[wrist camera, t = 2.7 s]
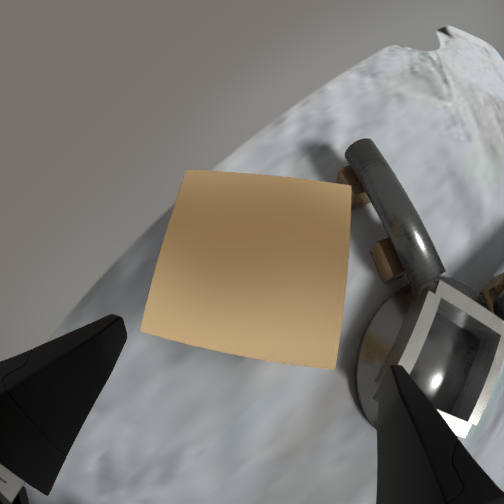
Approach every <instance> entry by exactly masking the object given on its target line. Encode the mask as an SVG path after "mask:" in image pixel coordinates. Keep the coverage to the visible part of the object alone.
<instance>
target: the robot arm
mask: <svg viewBox="0 0 504 504" xmlns="http://www.w3.org/2000/svg"><path fill="white" fill-rule="evenodd" d="M126 340H127V331H126V328H125V324H124V321H123V318H122V317H121V316H117V315H114V314H111V315H108V316H106V317H104V318H101V319H99V320H97V321H95V322H92V323H90V324H88V325H86V326H83V327H81V328H79V329H77V330H74V331H72V332H70V333H67V334H65V335H63V336H61V337H58V338H56V339H54V340H52V341H49V342H47V343H45V344H42V345H40V346H38V347H36V348H34V349H33V350H32V349H31V350H29V351H27V352H24V353H22V354H20V355H17V356H15V357H12V358H9V359H6V360H4V361H1V362H0V504H29V502H28V497H27V493H26V489H25V487H24V486H23V485H24V483H25V482H26V483H28V484H29V485H31V486H32V487H34V488H35V489H37V490H38V491H40V492H42V493H43V494H45V495H47V496H48V495H49V493H50V491H51V489H52V487H53V484H54V482H55V480H56V478H57V476H58V474H59V472H60V469H61V467H62V465H63V463H64V461H65V459H66V456H67V455H68V453H69V451H70V449H71V447H72V445H73V443H74V441H75V439H76V437H77V435H78V433H79V431H80V429H81V427H82V425H83V424H84V422H85V420H86V418H87V416H88V414H89V412H90V410H91V409H92V407H93V405H94V403H95V401H96V400H97V398H98V396H99V394H100V392H101V391H102V389H103V387H104V385H105V384H106V382H107V380H108V378H109V377H110V375H111V373H112V371H113V369H114V366H115V364H116V362H117V360H118V357H119V355H120V353H121V351H122V349H123V346H124V344H125V342H126ZM377 454H378V468H377V500H376V504H504V492H503V491H502V490H501V489H500V488H499V487H498V486H497V485H496V484H495V483H494V482H493V481H492V480H491V478H490V477H489V476H488V475H487V474H486V473H485V472H484V470H483V469H482V468H481V467H480V466H479V465H478V463H477V462H476V461H475V460H474V459H473V458H472V456H471V455H470V454H469V452H468V451H467V450H466V448H465V447H464V446H463V444H462V443H461V441H460V440H458V437H457V436H456V435H455V433H454V432H453V431H452V429H451V428H450V427H449V425H448V424H447V423H446V421H445V420H444V419H443V417H442V416H441V415H440V413H439V412H438V411H437V409H436V408H435V407H434V405H433V404H432V403H431V401H430V400H429V399H428V398H427V396H426V395H425V394H424V392H423V391H422V390H421V389H420V387H419V386H418V385H417V384H416V382H415V381H414V380H413V378H412V377H411V376H410V375H409V373H408V372H407V371H406V370H405V368H404V367H403V366H401V365H390V366H389V367H388V368H387V370H386V372H385V374H384V376H383V378H382V379H381V382H380V386H379V404H378V419H377Z"/></svg>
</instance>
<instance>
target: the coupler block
mask: <svg viewBox="0 0 504 504" xmlns="http://www.w3.org/2000/svg"><path fill="white" fill-rule="evenodd" d="M350 223H351V185H344V184H337V183H330V182H323V181H315V180H307V179H299V178H290V177H281V176H271V175H260V174H248V173H235V172H220V171H201V170H200V171H199V170H186V173H185V176H184V179H183V181H182V184H181V187H180V190H179V193H178V196H177V199H176V202H175V205H174V208H173V211H172V214H171V217H170V220H169V223H168V227H167V230H166V233H165V236H164V240H163V243H162V247H161V250H160V254H159V257H158V261H157V264H156V268H155V272H154V275H153V279H152V283H151V287H150V291H149V295H148V299H147V303H146V307H145V311H144V316H143V320H142V324H141V329H140V331H141V332H144V333H148V334H151V335H155V336H158V337H162V338H166V339H169V340H173V341H177V342H181V343H185V344H189V345H193V346H197V347H202V348H206V349H210V350H215V351H219V352H224V353H229V354H234V355H239V356H244V357H250V358H255V359H261V360H266V361H273V362H279V363H285V364H292V365H299V366H307V367H315V368H323V369H333V370H335V366H336V360H337V354H338V347H339V341H340V334H341V326H342V319H343V310H344V302H345V292H346V282H347V271H348V258H349V243H350Z"/></svg>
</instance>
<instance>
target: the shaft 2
mask: <svg viewBox="0 0 504 504" xmlns="http://www.w3.org/2000/svg"><path fill="white" fill-rule="evenodd" d="M481 295H482V297H483V299H484V301H485V303H486V305H487V307H488V309H489V311H490V312H492V313H493V314H495V315H496V316H497V317H499V318H500V319H502V320H503V321H504V273H502V274H500V275H498V276H496V277H494V279H493V280H492V281H491V282H490V283H489V284H488V285H487V286H486V288H485V289H484V290H483V291H482V292H481Z"/></svg>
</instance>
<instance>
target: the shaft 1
mask: <svg viewBox="0 0 504 504" xmlns="http://www.w3.org/2000/svg"><path fill="white" fill-rule="evenodd" d="M345 158H346V160H347V161H348V163H349V165H350V166H346V167H343V168H340V169H339V173H338V177H337V181H336V183H337V184H344V185H351V209H352V208H355V207H358V206H361V205H364V204H367V203H370V202H371V203H372V205H373V207H374V208H375V210H376V212H377V214H378V216H379V218H380V220H381V222H382V224H383V226H384V228H385V230H386V232H387V234H388V236H389V238H386V239H384V240H381V241H378V243H377V244H376V245H375V247H374V248H373V249H372V251H371V252H370V253H371V255H372V257H373V260H374V262H375V264H376V266H377V269H378V271H379V273H380V276H381V278H382V280H383V283H386V282H388V281H390V280H393V279H395V278H397V277H399V276H402V275H404V274H406V275H407V278H408V280H409V282H410V285H411V287H412V289H414V288H416V287H418V286H420V285H422V284H424V283H426V282H428V281H430V280H432V279H434V278H435V277H437V276H439V275H441V274H442V273H444V272H445V269H444V266H443V264H442V262H441V260H440V257H439V255H438V253H437V251H436V249H435V247H434V245H433V242H432V240H431V238H430V236H429V234H428V232H427V230H426V228H425V226H424V224H423V223H422V221H421V219H420V217H419V215H418V213H417V211H416V210H415V208H414V206H413V204H412V202H411V201H410V199H409V197H408V195H407V194H406V192H405V190H404V189H403V187H402V185H401V184H400V182H399V180H398V179H397V177H396V175H395V174H394V172H393V171H392V169H391V168H390V166H389V164H388V163H387V161H386V160H385V158H384V157H383V155H382V154H381V152H380V151H379V150H378V148H377V147H376V145H375V144H374V142H373V141H372V140H371V139H361V140H358V141H356V142H354V143H353V144H352V145H350V146H349V147H348V149H347V150H346V152H345Z"/></svg>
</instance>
